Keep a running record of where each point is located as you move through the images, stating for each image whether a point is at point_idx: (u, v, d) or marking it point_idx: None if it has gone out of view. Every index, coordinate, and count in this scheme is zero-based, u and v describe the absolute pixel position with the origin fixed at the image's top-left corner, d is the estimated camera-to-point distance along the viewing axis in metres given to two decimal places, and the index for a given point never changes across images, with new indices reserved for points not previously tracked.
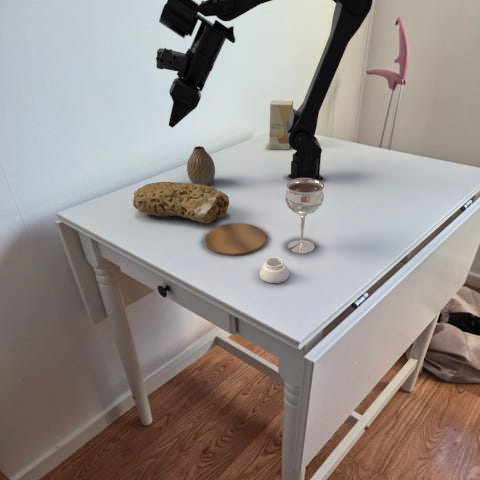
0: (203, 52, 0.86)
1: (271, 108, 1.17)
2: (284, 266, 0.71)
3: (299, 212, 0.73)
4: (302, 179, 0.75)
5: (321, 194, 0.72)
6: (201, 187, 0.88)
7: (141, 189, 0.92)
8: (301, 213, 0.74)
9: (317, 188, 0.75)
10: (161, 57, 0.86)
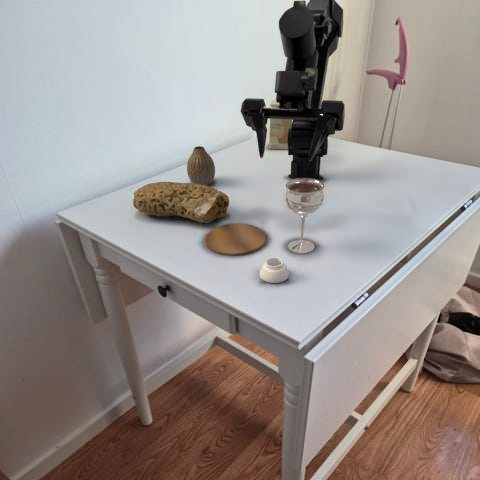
0: None
1: None
2: (284, 266, 0.71)
3: (299, 212, 0.73)
4: (302, 179, 0.75)
5: (321, 194, 0.72)
6: (201, 187, 0.88)
7: (141, 189, 0.92)
8: (301, 213, 0.74)
9: (317, 188, 0.75)
10: (315, 77, 0.71)
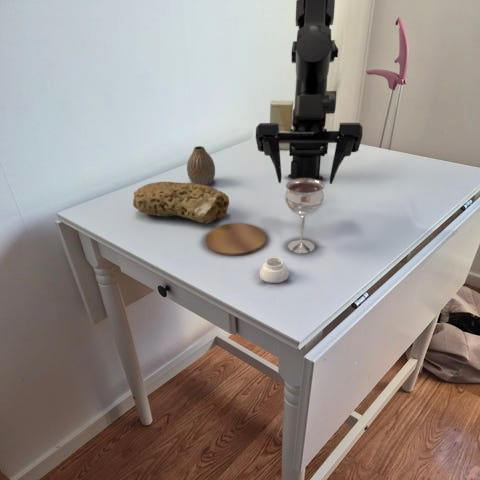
0: None
1: (271, 108, 1.17)
2: (284, 266, 0.71)
3: (299, 212, 0.73)
4: (302, 179, 0.75)
5: (321, 194, 0.72)
6: (201, 187, 0.88)
7: (141, 189, 0.92)
8: (301, 213, 0.74)
9: (317, 188, 0.75)
10: (335, 100, 0.70)
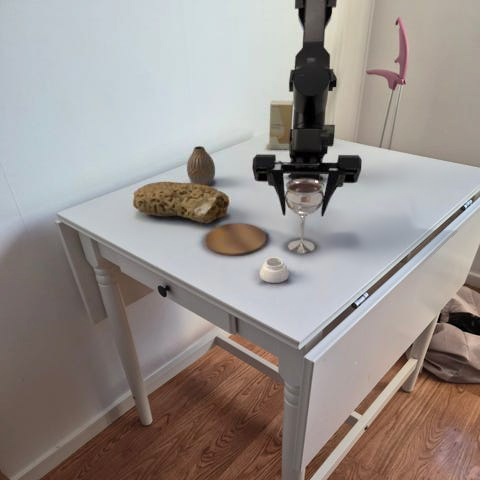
0: None
1: (271, 108, 1.17)
2: (284, 266, 0.71)
3: (299, 212, 0.73)
4: (302, 179, 0.75)
5: (321, 194, 0.72)
6: (201, 187, 0.88)
7: (141, 189, 0.92)
8: (301, 213, 0.74)
9: (317, 188, 0.75)
10: None
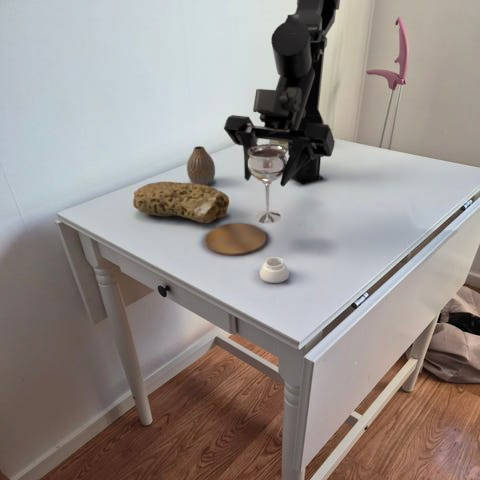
0: (307, 97, 0.72)
1: None
2: (284, 266, 0.71)
3: (257, 178, 0.71)
4: (272, 145, 0.73)
5: (280, 162, 0.69)
6: (201, 187, 0.88)
7: (141, 189, 0.92)
8: (259, 179, 0.71)
9: None
10: (296, 98, 0.64)
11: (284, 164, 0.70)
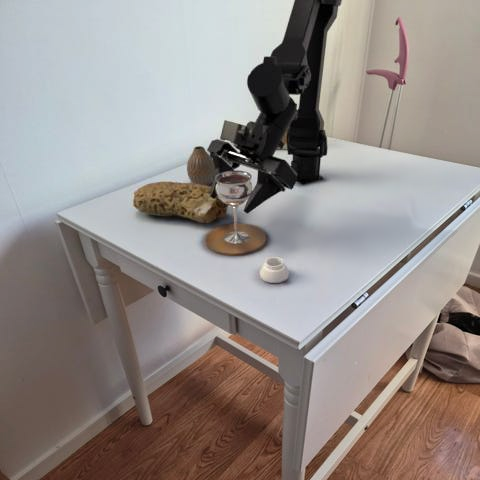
0: (284, 131, 0.75)
1: None
2: (284, 266, 0.71)
3: None
4: (244, 172, 0.78)
5: (240, 189, 0.74)
6: (201, 187, 0.88)
7: (141, 189, 0.92)
8: (223, 202, 0.77)
9: (251, 184, 0.76)
10: (253, 132, 0.69)
11: (244, 192, 0.75)
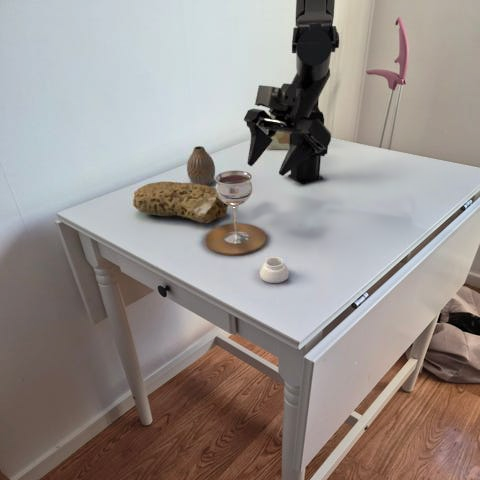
0: (318, 97, 0.78)
1: None
2: (284, 266, 0.71)
3: None
4: (244, 172, 0.78)
5: (240, 189, 0.74)
6: (201, 187, 0.88)
7: (141, 189, 0.92)
8: (223, 202, 0.77)
9: (251, 184, 0.76)
10: (286, 93, 0.71)
11: (244, 192, 0.75)
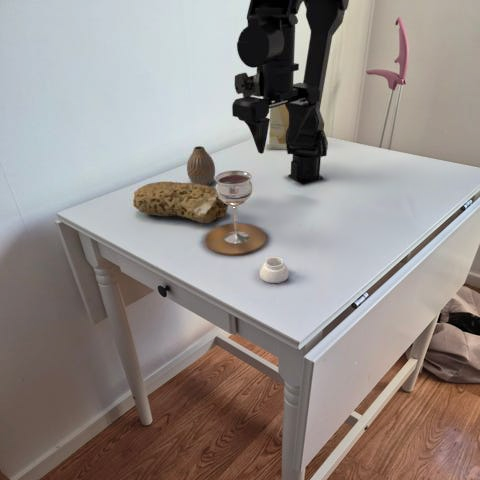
0: (292, 56, 0.74)
1: (271, 108, 1.17)
2: (284, 266, 0.71)
3: None
4: (244, 172, 0.78)
5: (240, 189, 0.74)
6: (201, 187, 0.88)
7: (141, 189, 0.92)
8: (223, 202, 0.77)
9: (251, 184, 0.76)
10: (235, 85, 0.81)
11: (244, 192, 0.75)
